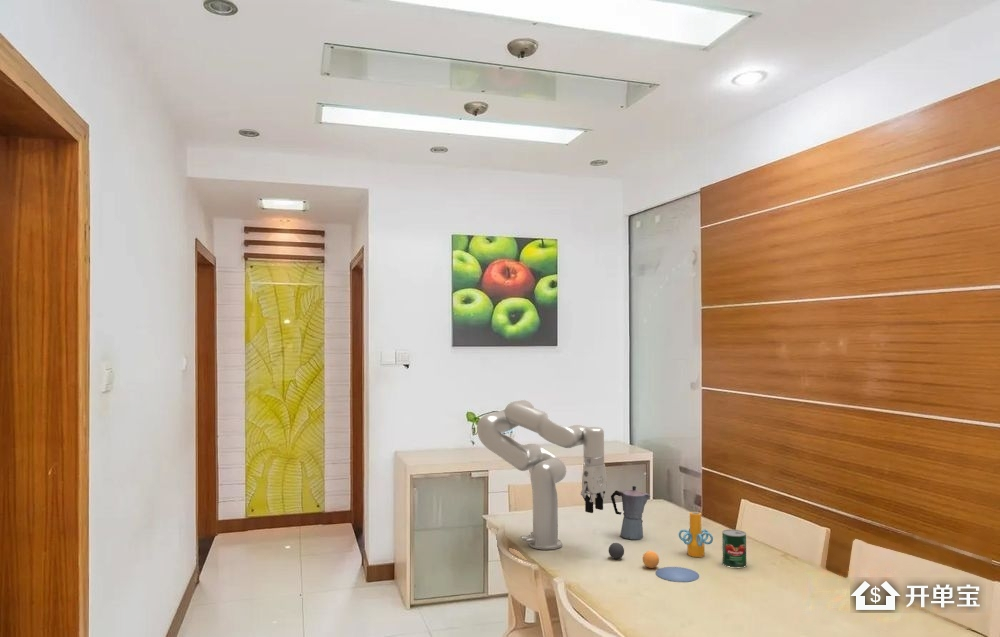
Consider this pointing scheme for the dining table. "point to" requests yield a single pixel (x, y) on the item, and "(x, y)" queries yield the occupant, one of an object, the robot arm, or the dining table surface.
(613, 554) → the dark grey ball
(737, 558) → the canned tomato
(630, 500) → the moka pot
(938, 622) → the dining table surface
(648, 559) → the object ball
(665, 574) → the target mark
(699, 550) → the cylinder
